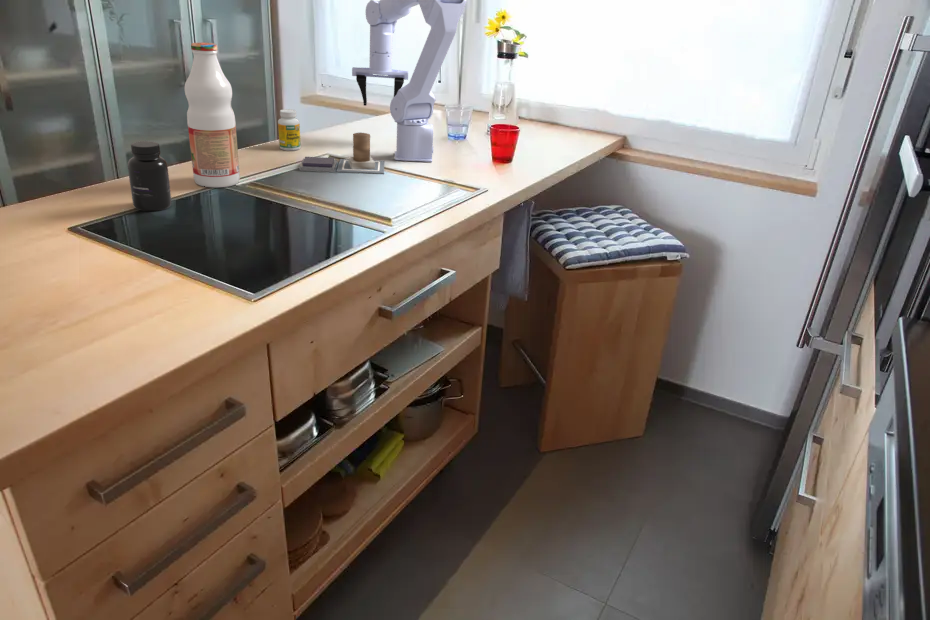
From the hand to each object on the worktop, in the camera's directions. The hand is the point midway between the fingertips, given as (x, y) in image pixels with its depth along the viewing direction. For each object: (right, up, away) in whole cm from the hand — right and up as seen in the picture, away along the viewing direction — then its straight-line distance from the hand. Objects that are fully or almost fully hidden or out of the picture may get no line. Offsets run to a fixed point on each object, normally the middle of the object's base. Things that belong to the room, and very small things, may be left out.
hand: (379, 105), depth 182 cm
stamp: (-2, -19, -17) cm, 26 cm away
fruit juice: (-31, -27, -35) cm, 54 cm away
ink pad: (-12, -20, -19) cm, 31 cm away
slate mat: (-2, -20, -16) cm, 26 cm away
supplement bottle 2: (-23, -13, -5) cm, 26 cm away
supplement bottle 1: (-37, -35, -51) cm, 72 cm away
